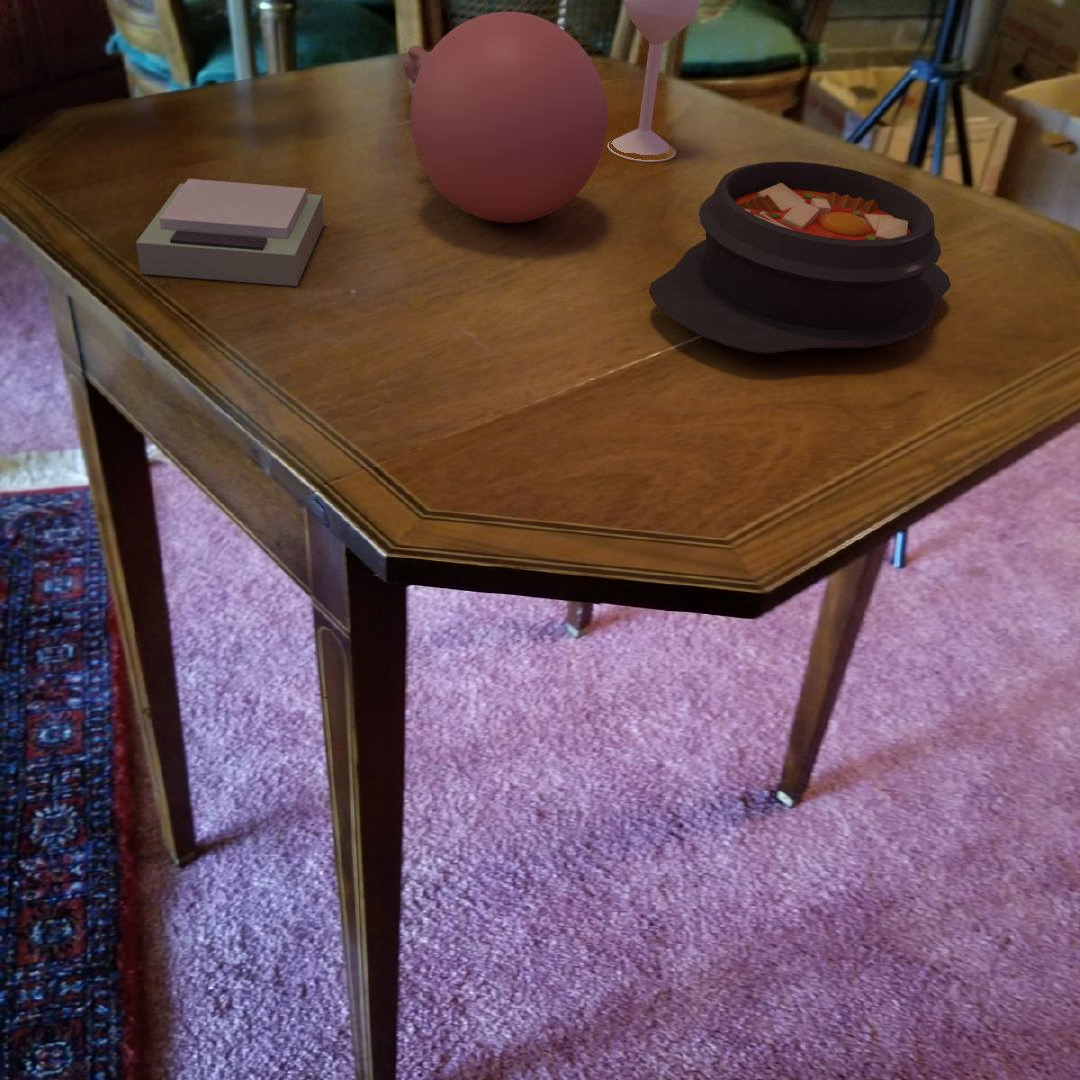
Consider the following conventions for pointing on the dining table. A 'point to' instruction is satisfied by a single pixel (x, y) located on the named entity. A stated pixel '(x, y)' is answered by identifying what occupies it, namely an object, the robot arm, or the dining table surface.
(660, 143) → the champagne flute
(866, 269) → the casserole
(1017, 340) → the dining table surface
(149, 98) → the dining table surface
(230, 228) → the scale
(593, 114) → the balloon
